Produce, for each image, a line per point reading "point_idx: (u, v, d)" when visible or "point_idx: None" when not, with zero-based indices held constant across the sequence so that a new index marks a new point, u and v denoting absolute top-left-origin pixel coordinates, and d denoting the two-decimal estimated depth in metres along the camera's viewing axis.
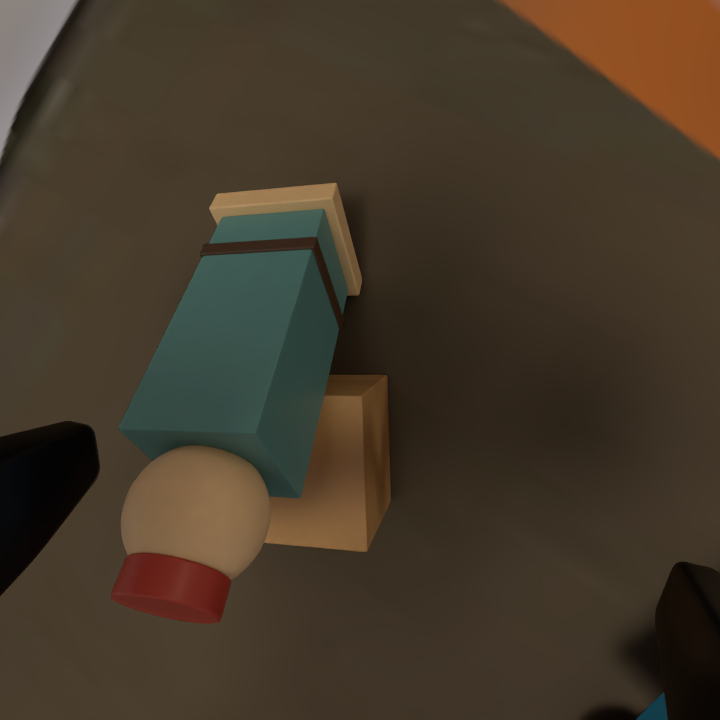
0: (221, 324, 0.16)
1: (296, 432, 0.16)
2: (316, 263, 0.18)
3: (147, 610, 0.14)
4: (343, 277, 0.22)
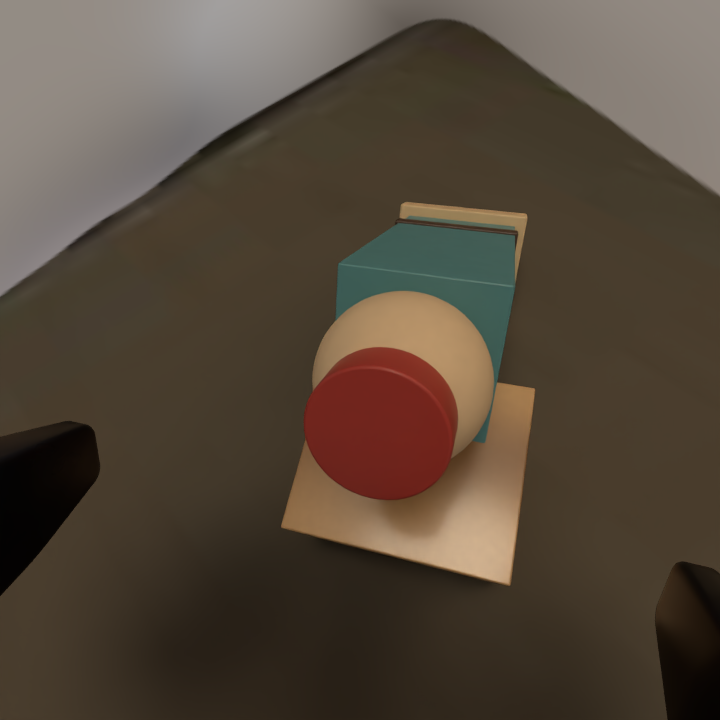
0: (437, 244, 0.15)
1: None
2: None
3: (333, 447, 0.10)
4: None
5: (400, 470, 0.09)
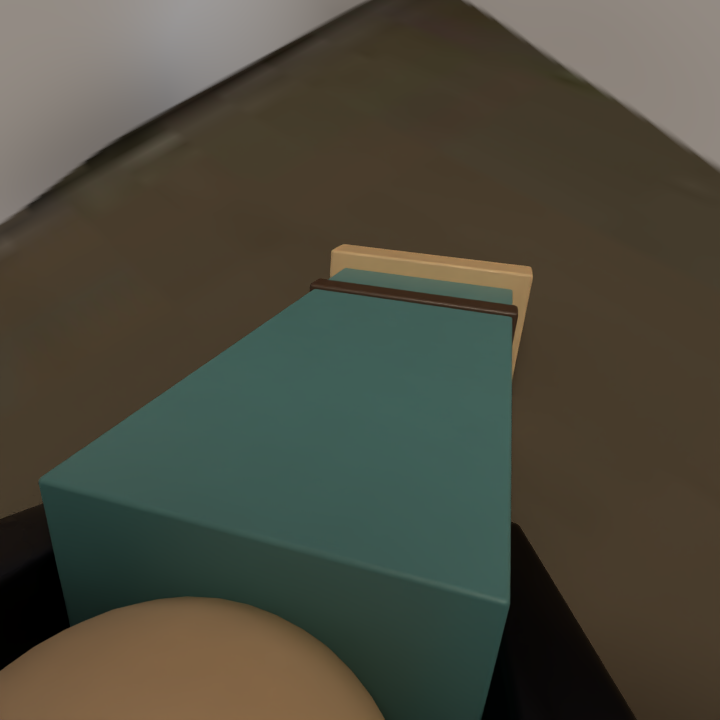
0: (355, 360, 0.08)
1: None
2: None
3: None
4: None
5: None
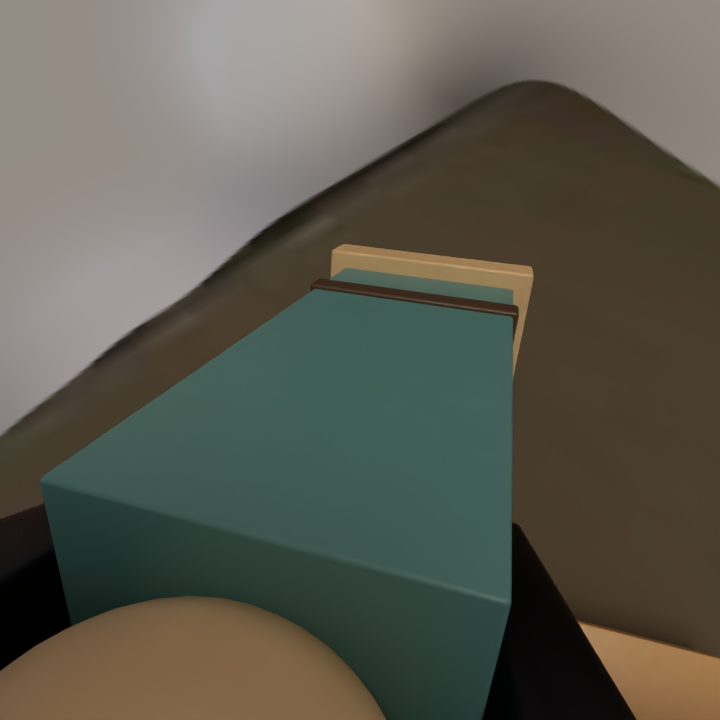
0: (357, 360, 0.08)
1: None
2: None
3: None
4: None
5: None
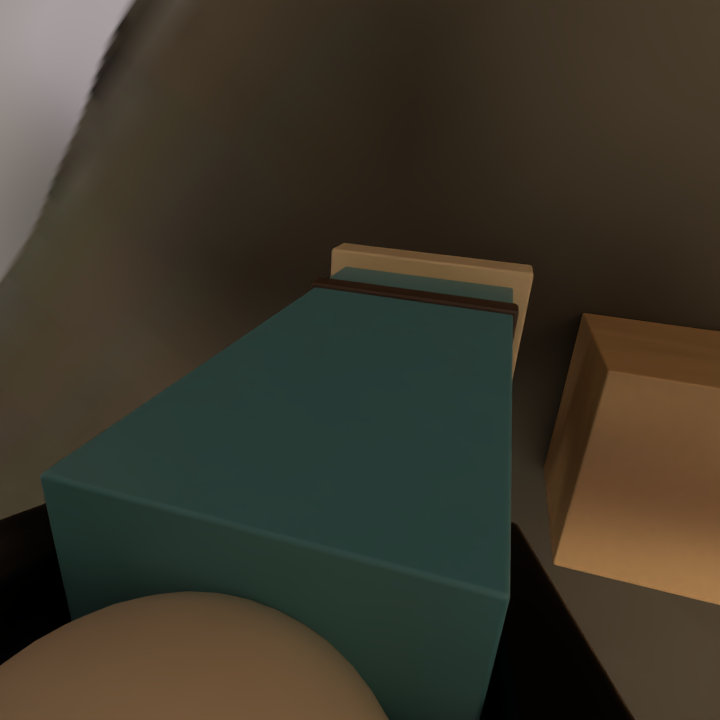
0: (356, 357, 0.08)
1: None
2: None
3: None
4: None
5: None
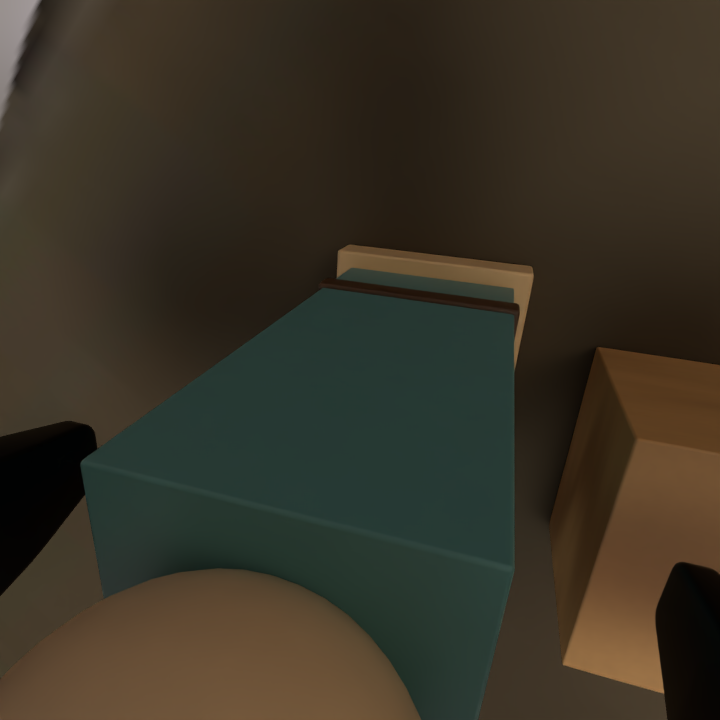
0: (365, 354, 0.08)
1: None
2: None
3: None
4: None
5: None
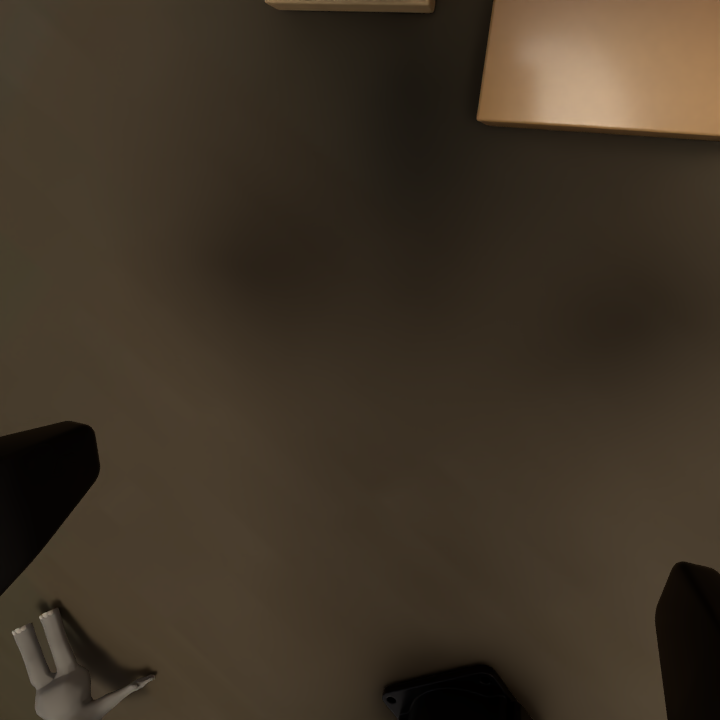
0: None
1: None
2: None
3: None
4: None
5: None
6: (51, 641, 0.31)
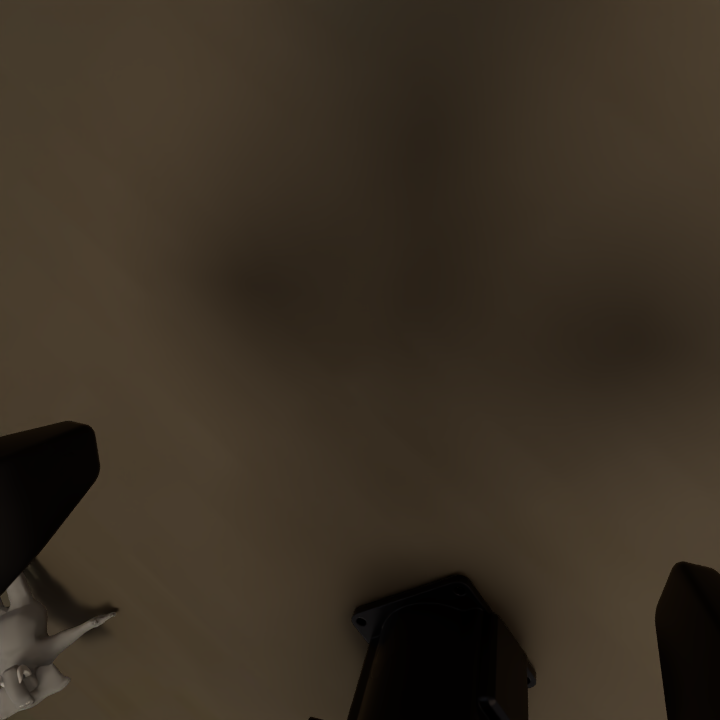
0: None
1: None
2: None
3: None
4: None
5: None
6: None
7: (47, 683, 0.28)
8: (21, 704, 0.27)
